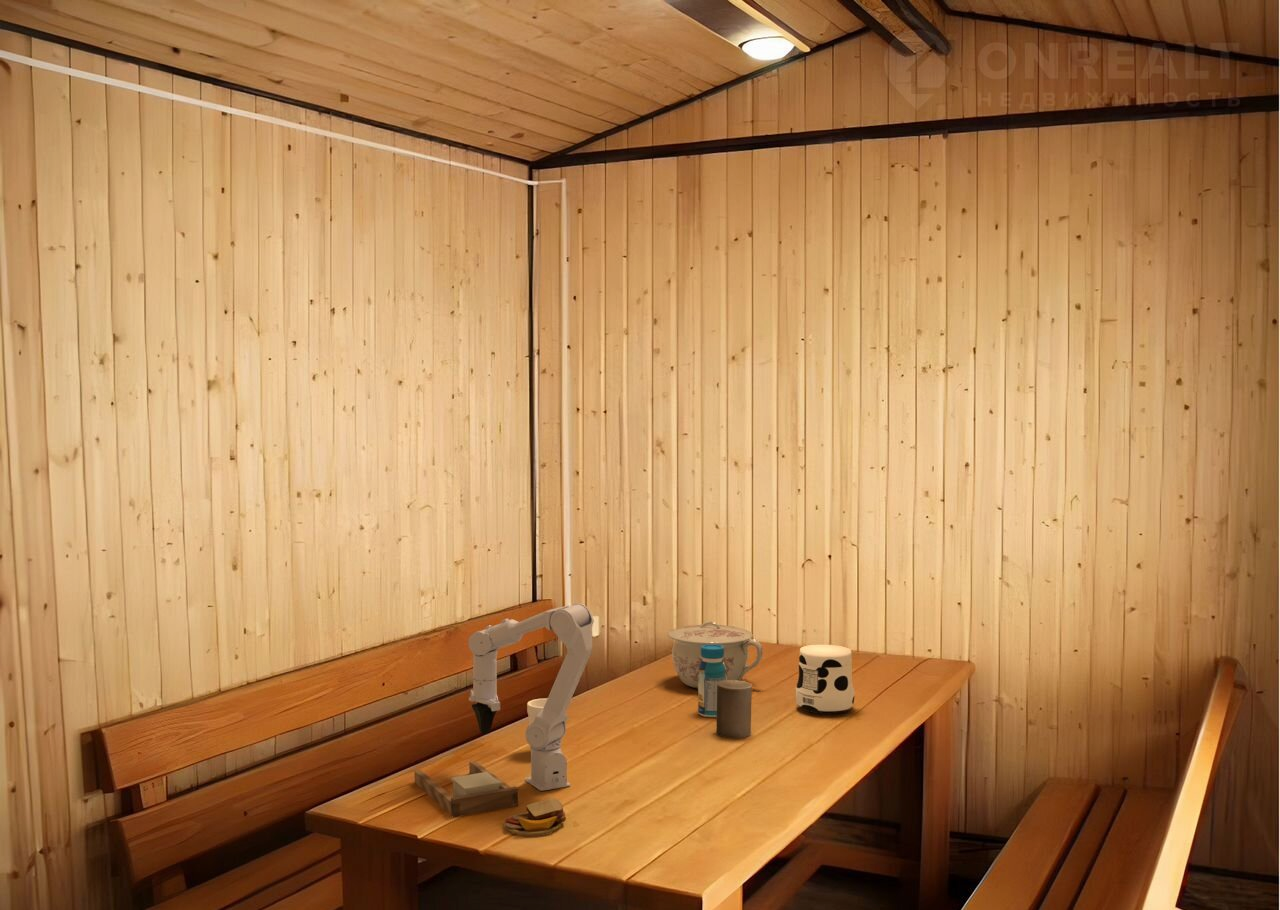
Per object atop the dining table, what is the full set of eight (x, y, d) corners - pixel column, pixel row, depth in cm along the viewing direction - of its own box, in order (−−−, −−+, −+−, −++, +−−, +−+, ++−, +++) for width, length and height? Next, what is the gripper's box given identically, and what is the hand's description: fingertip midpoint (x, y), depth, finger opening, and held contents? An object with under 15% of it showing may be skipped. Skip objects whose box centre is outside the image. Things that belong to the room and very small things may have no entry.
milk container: (852, 703, 359) (852, 644, 358) (856, 718, 342) (857, 657, 341) (794, 701, 361) (795, 643, 360) (796, 717, 344) (796, 655, 343)
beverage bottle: (716, 719, 340) (716, 650, 339) (691, 714, 346) (692, 646, 345) (732, 713, 347) (732, 645, 346) (708, 708, 352) (708, 642, 351)
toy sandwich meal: (499, 820, 261) (499, 798, 261) (560, 815, 264) (560, 794, 264) (507, 840, 249) (507, 818, 249) (571, 835, 252) (571, 813, 252)
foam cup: (568, 748, 313) (568, 699, 312) (556, 759, 304) (556, 709, 303) (534, 745, 315) (534, 697, 314) (522, 755, 306) (522, 706, 305)
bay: (518, 805, 269) (518, 788, 269) (453, 817, 262) (453, 799, 262) (475, 772, 292) (475, 756, 292) (414, 782, 285) (414, 766, 285)
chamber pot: (652, 680, 387) (653, 617, 386) (726, 671, 399) (726, 610, 398) (692, 700, 362) (692, 633, 361) (769, 691, 374) (770, 625, 372)
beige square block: (500, 804, 269) (500, 782, 269) (464, 811, 265) (464, 788, 265) (486, 793, 277) (486, 771, 277) (451, 799, 273) (451, 777, 272)
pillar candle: (710, 734, 325) (711, 681, 324) (724, 725, 334) (725, 673, 333) (743, 740, 321) (744, 685, 320) (756, 731, 330) (757, 677, 329)
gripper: (459, 674, 296) (459, 727, 296) (480, 686, 283) (480, 742, 284) (485, 670, 299) (485, 724, 300) (508, 683, 287) (508, 738, 287)
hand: (485, 733), depth 292 cm, fingers closed
